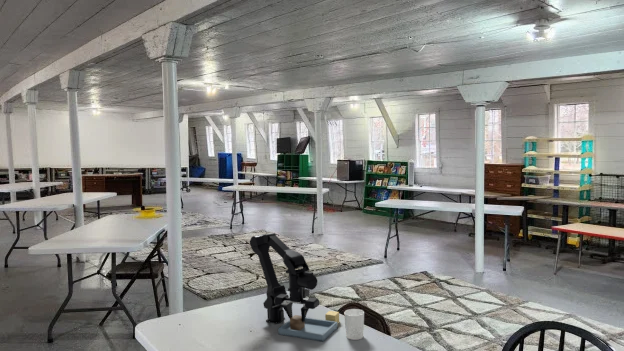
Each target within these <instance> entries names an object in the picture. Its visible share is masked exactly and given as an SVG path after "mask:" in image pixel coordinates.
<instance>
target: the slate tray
mask: <svg viewBox="0 0 624 351" xmlns="http://www.w3.org/2000/svg"><path fill="white" fill-rule="evenodd" d="M277 329H278V330H277V331H278V332H277V333H278V335H281V336H287V337H292V338H299V339H304V340H312V341H316V342H322V343H323V342H324V341H326V340H327V338H329V337H330V336H331V334H333V333H334V332H335V331H336V330H337V329H338V324H337V322H334V321H327V320H325V319H320V318H312V317H308V316H306V318H305V327H304V328H303V329H301V330H300V331H299V330H293V329H290V319H288V321H286V322H285V323H284V324H282V325H281V326H280V327H278V328H277Z"/></svg>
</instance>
